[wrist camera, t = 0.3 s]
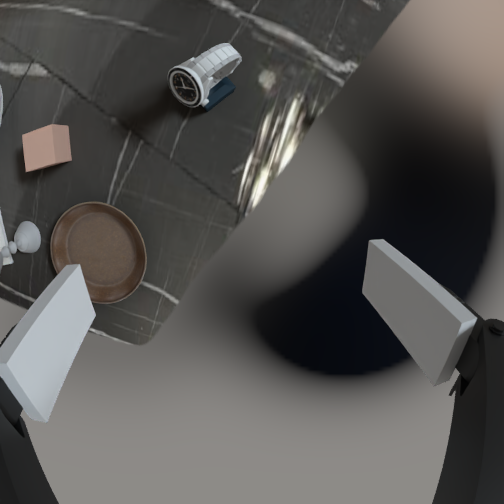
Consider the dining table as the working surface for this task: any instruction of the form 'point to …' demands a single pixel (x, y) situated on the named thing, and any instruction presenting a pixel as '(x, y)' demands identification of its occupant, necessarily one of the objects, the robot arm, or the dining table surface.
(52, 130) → the terracotta block
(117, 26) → the dining table surface
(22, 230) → the chalice
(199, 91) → the watch
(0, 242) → the board
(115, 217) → the saucer
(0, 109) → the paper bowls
